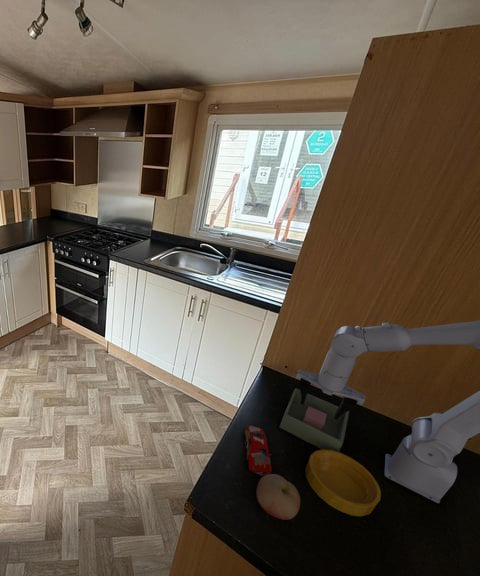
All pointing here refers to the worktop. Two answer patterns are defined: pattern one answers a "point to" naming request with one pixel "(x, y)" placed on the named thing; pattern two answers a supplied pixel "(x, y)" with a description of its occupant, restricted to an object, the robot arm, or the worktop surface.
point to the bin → (323, 439)
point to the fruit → (278, 497)
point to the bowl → (342, 482)
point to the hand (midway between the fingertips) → (318, 409)
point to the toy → (314, 418)
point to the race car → (257, 451)
